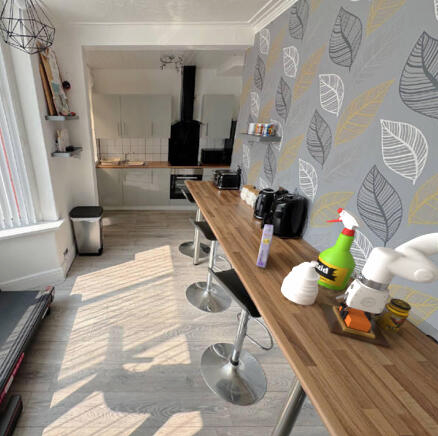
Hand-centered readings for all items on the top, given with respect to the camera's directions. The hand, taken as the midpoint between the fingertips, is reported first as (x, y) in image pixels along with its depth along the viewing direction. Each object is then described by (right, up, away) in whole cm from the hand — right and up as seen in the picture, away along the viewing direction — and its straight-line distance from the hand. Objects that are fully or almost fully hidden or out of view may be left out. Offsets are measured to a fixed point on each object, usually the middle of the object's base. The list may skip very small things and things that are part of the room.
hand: (353, 319), depth 88 cm
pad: (0, -1, 0) cm, 1 cm away
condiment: (+13, -3, +2) cm, 14 cm away
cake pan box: (-15, +16, +41) cm, 46 cm away
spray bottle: (+10, +9, +27) cm, 30 cm away
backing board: (0, -2, +1) cm, 3 cm away
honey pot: (-11, +4, +16) cm, 20 cm away
